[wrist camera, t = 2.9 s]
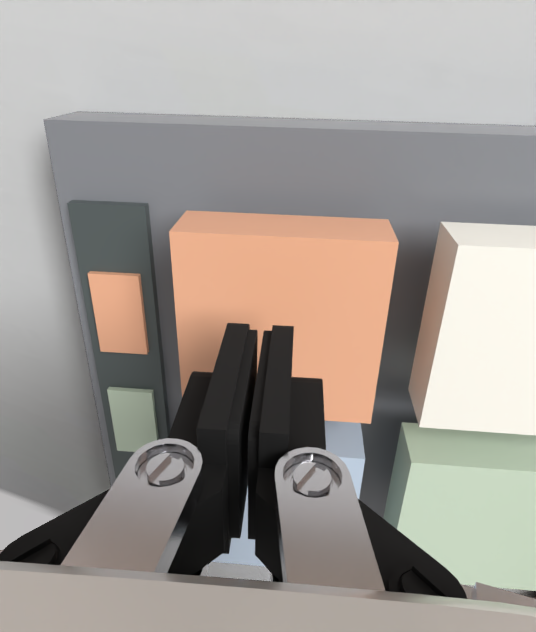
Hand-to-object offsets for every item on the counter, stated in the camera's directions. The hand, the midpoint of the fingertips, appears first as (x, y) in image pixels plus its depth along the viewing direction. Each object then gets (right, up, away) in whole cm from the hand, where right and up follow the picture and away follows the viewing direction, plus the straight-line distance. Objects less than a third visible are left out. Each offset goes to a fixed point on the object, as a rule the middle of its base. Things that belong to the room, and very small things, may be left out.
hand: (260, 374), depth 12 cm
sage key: (+8, -5, +7) cm, 12 cm away
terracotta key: (+1, +2, +3) cm, 4 cm away
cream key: (+8, +1, +3) cm, 9 cm away
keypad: (+3, 0, +9) cm, 9 cm away
